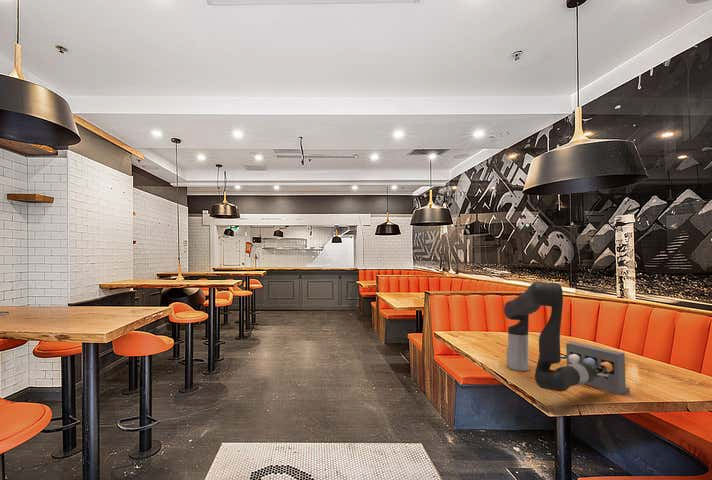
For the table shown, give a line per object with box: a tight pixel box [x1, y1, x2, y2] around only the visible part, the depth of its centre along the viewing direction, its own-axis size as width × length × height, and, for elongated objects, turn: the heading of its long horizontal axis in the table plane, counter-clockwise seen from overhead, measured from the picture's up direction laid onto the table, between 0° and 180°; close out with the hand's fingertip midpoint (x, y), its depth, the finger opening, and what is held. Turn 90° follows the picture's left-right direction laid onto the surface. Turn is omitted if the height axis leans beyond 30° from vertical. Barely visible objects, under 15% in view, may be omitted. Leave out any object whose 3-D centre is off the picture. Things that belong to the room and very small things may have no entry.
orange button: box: [600, 361, 614, 372], centre depth 143 cm, size 4×3×4 cm
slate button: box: [584, 357, 597, 366], centre depth 149 cm, size 4×3×4 cm
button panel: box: [565, 341, 631, 396], centre depth 150 cm, size 21×8×16 cm, turn 27°
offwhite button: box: [569, 354, 581, 364], centre depth 154 cm, size 4×3×4 cm
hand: (603, 367), depth 142 cm, fingers closed
